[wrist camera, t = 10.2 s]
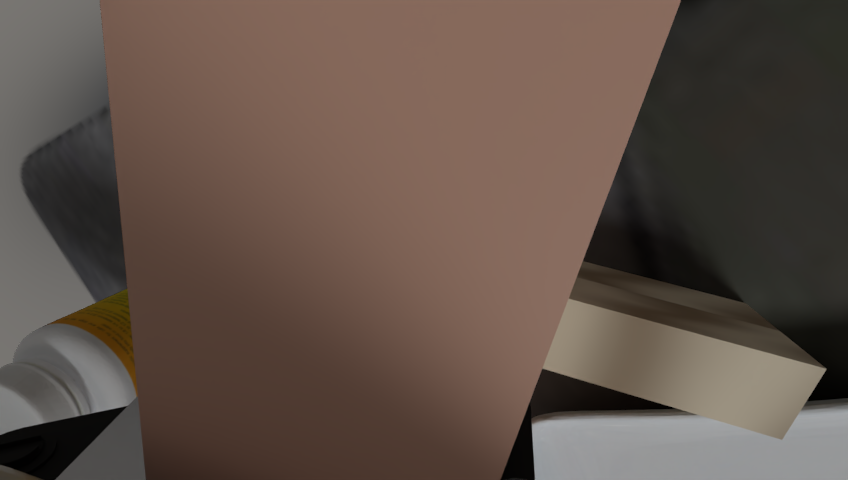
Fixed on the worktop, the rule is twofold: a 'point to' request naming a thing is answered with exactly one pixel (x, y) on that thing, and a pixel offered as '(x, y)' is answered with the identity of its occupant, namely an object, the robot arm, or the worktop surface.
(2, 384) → the supplement bottle
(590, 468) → the salad plate
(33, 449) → the robot arm
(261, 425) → the pink rectangular slab
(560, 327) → the birch rail
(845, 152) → the worktop surface
